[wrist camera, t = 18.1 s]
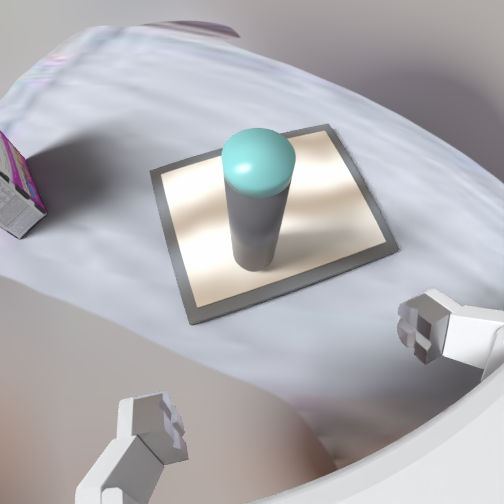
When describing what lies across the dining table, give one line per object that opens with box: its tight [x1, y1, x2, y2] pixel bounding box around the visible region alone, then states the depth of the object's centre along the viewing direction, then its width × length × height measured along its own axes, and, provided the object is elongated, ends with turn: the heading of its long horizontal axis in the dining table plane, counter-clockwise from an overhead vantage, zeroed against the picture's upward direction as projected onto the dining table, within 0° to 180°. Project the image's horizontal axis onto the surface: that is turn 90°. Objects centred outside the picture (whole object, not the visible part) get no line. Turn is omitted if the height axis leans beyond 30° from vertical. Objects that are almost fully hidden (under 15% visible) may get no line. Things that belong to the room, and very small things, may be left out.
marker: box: [221, 128, 296, 272], centre depth 19 cm, size 3×3×13 cm
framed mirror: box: [150, 124, 398, 325], centre depth 28 cm, size 15×19×1 cm
